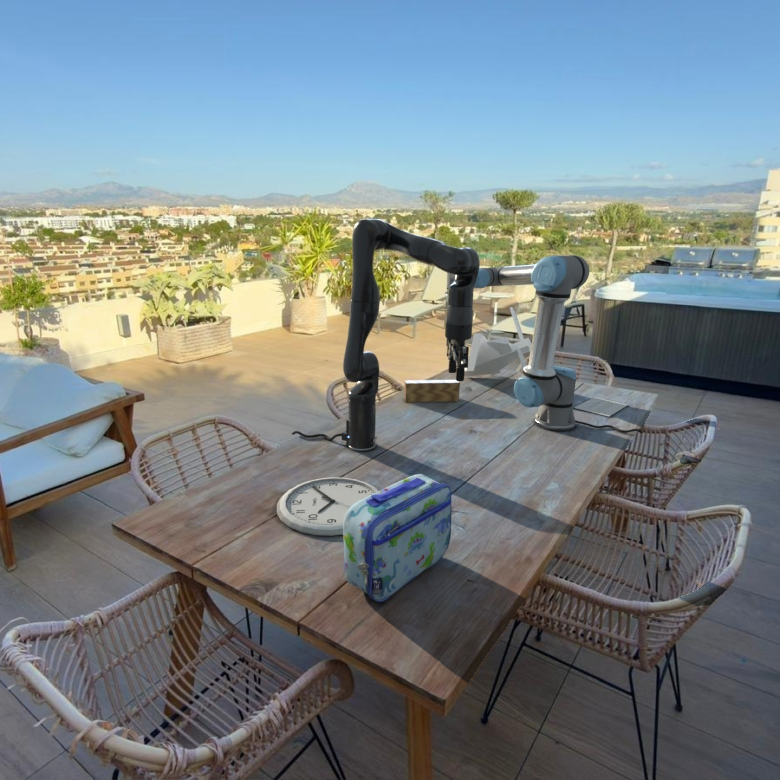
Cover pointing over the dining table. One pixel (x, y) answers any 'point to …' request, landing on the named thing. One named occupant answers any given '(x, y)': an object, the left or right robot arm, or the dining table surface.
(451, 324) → the left robot arm
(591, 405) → the invitation card
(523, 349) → the white plastic object
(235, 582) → the dining table surface
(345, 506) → the wall clock
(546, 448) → the dining table surface
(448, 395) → the bar
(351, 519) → the lunch box
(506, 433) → the dining table surface
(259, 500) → the dining table surface
